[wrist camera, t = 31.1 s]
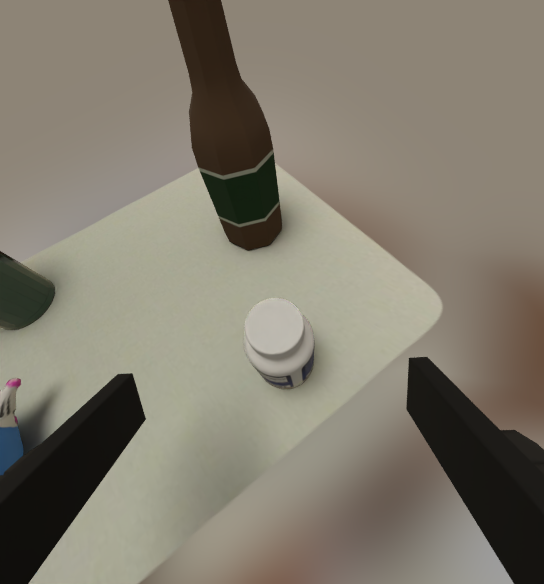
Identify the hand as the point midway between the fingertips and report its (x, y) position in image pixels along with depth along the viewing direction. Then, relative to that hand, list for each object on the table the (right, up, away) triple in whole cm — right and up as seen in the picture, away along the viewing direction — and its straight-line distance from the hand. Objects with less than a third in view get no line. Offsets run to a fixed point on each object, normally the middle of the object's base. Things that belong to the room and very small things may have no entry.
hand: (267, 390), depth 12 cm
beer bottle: (-2, +13, +22) cm, 26 cm away
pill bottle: (+2, -2, +13) cm, 13 cm away
